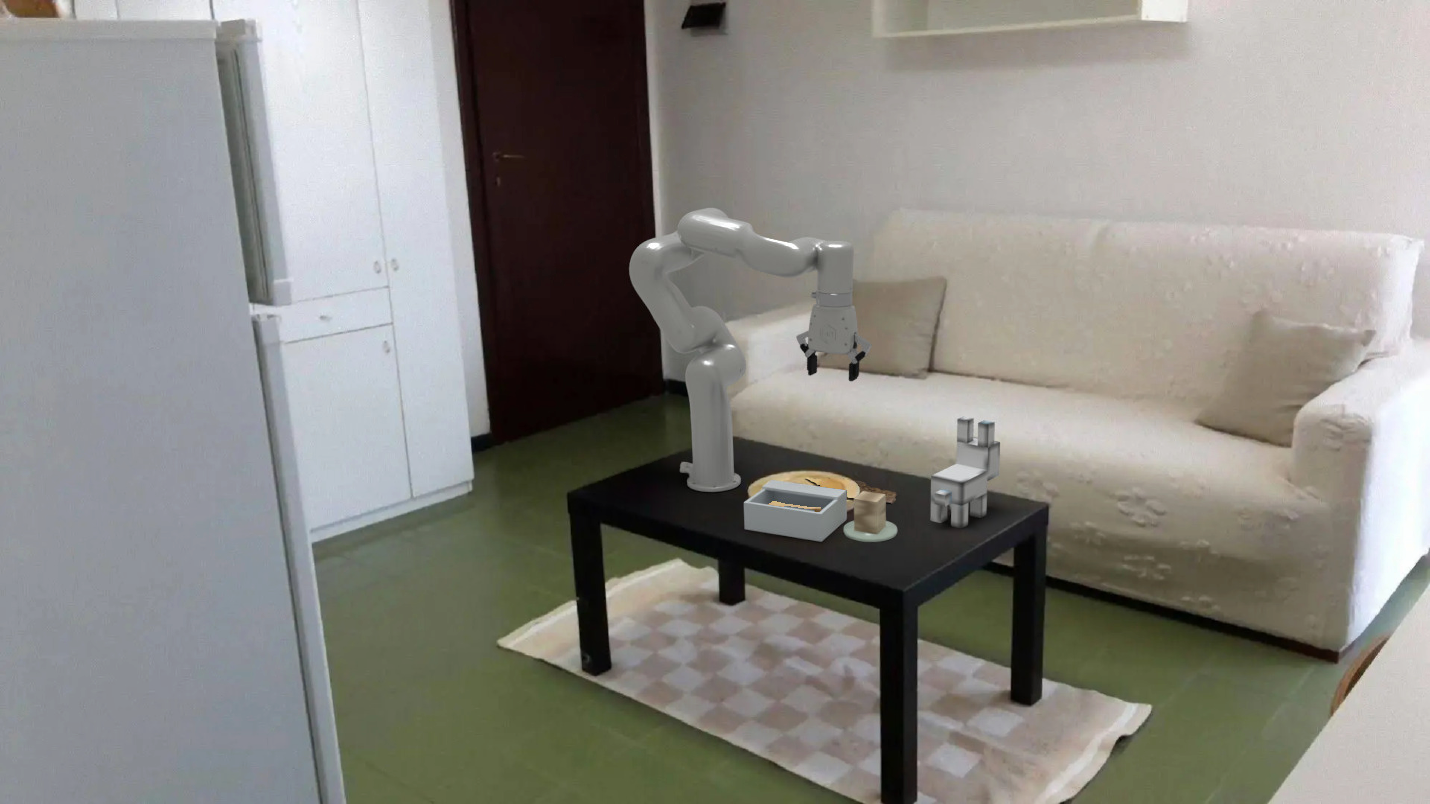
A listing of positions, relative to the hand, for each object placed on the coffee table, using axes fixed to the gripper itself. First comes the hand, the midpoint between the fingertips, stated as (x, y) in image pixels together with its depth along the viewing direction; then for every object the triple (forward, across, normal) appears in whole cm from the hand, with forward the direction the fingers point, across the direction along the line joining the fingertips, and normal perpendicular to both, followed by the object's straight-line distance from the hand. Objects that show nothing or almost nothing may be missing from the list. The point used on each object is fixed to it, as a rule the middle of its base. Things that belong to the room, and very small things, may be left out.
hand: (832, 377), depth 250 cm
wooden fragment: (+29, +2, +7) cm, 30 cm away
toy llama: (+28, +30, +3) cm, 41 cm away
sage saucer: (+28, +16, -14) cm, 35 cm away
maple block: (+27, +16, -14) cm, 34 cm away
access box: (+28, 0, -17) cm, 33 cm away
